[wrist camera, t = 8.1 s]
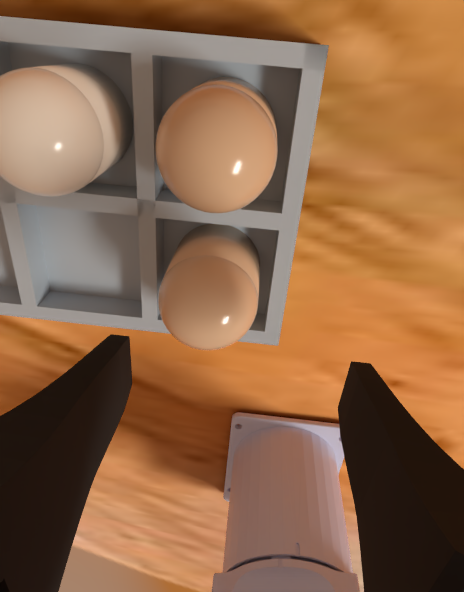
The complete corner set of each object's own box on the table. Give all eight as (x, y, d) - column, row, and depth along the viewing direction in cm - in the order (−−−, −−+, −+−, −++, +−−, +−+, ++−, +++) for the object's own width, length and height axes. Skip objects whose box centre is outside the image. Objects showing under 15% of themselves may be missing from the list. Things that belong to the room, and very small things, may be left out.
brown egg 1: (270, 187, 20) (269, 237, 15) (176, 178, 20) (143, 224, 15) (283, 81, 17) (287, 98, 12) (176, 72, 17) (138, 85, 12)
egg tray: (277, 318, 24) (278, 345, 22) (-60, 280, 25) (-92, 304, 23) (321, 44, 17) (328, 45, 15) (-150, 2, 18) (-210, -3, 16)
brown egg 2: (255, 303, 23) (251, 376, 18) (175, 295, 23) (148, 365, 18) (264, 227, 21) (262, 287, 16) (175, 219, 21) (145, 275, 16)
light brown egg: (133, 176, 20) (84, 220, 15) (41, 163, 20) (-39, 203, 15) (132, 70, 17) (73, 80, 12) (28, 56, 18) (-71, 61, 13)
